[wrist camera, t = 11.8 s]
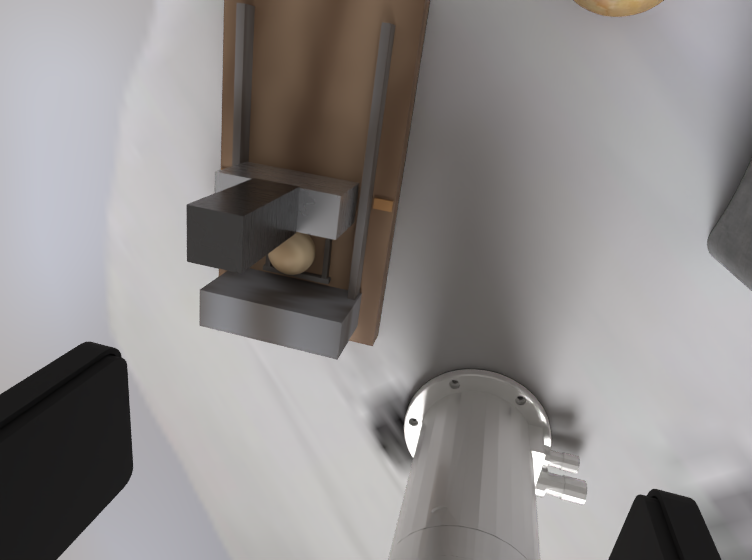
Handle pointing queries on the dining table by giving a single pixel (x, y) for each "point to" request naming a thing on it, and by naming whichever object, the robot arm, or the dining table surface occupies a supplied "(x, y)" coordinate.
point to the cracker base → (319, 155)
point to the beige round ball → (293, 254)
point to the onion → (617, 6)
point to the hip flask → (736, 233)
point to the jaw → (264, 213)
